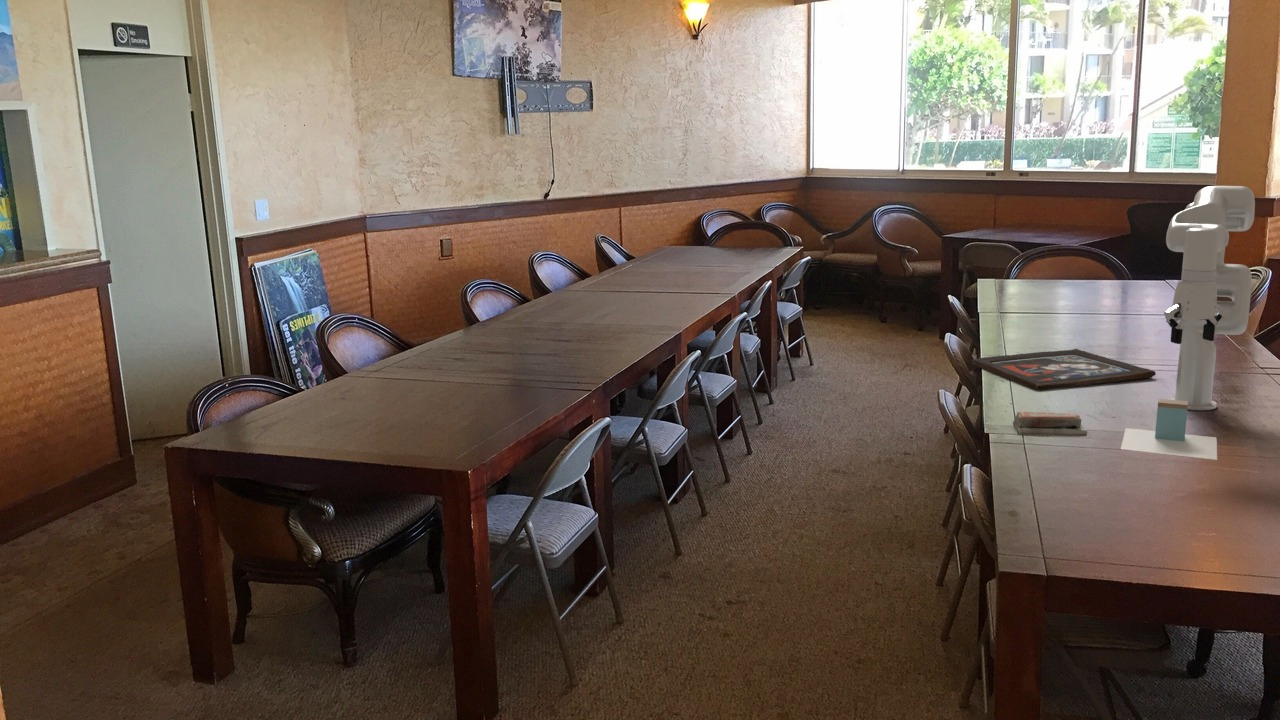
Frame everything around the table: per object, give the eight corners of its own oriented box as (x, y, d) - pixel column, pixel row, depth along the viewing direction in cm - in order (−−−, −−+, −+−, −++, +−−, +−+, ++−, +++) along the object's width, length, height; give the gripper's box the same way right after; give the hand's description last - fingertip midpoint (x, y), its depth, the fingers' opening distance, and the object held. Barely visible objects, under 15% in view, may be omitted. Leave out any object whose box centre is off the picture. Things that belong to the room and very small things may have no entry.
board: (1125, 429, 284) (1125, 428, 284) (1216, 438, 274) (1216, 437, 274) (1120, 450, 267) (1120, 449, 267) (1217, 461, 257) (1217, 459, 257)
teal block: (1155, 434, 278) (1158, 398, 276) (1184, 437, 275) (1188, 401, 272) (1154, 438, 275) (1158, 402, 272) (1184, 441, 271) (1187, 405, 269)
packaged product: (1019, 418, 283) (1013, 408, 292) (1018, 434, 284) (1012, 424, 293) (1088, 419, 280) (1080, 409, 289) (1087, 436, 281) (1078, 425, 290)
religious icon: (1159, 379, 335) (1160, 370, 335) (1038, 393, 325) (1038, 384, 324) (1079, 354, 374) (1079, 346, 373) (968, 366, 363) (969, 358, 362)
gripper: (1216, 272, 268) (1209, 336, 272) (1158, 276, 264) (1152, 341, 268) (1238, 276, 261) (1231, 341, 265) (1179, 280, 257) (1173, 347, 261)
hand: (1191, 341), depth 267 cm, fingers open, 9 cm apart
